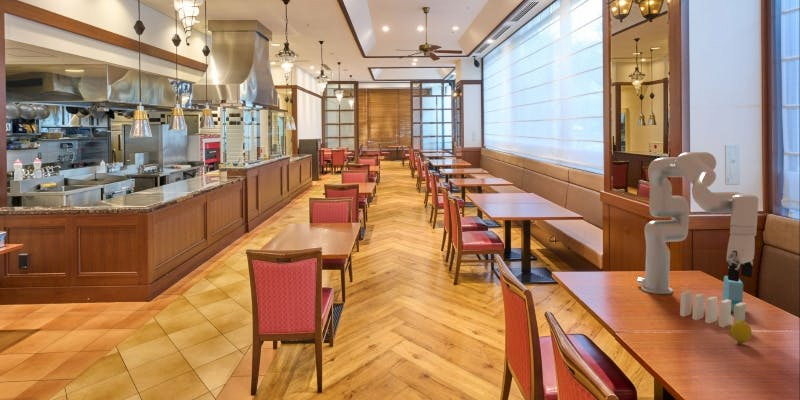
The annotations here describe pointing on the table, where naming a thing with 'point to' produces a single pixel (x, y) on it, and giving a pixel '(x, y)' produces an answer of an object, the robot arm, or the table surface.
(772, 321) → the table surface
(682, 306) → the tile
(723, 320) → the tile
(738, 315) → the tile
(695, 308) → the tile
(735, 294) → the data package
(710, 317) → the tile
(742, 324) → the lemon
